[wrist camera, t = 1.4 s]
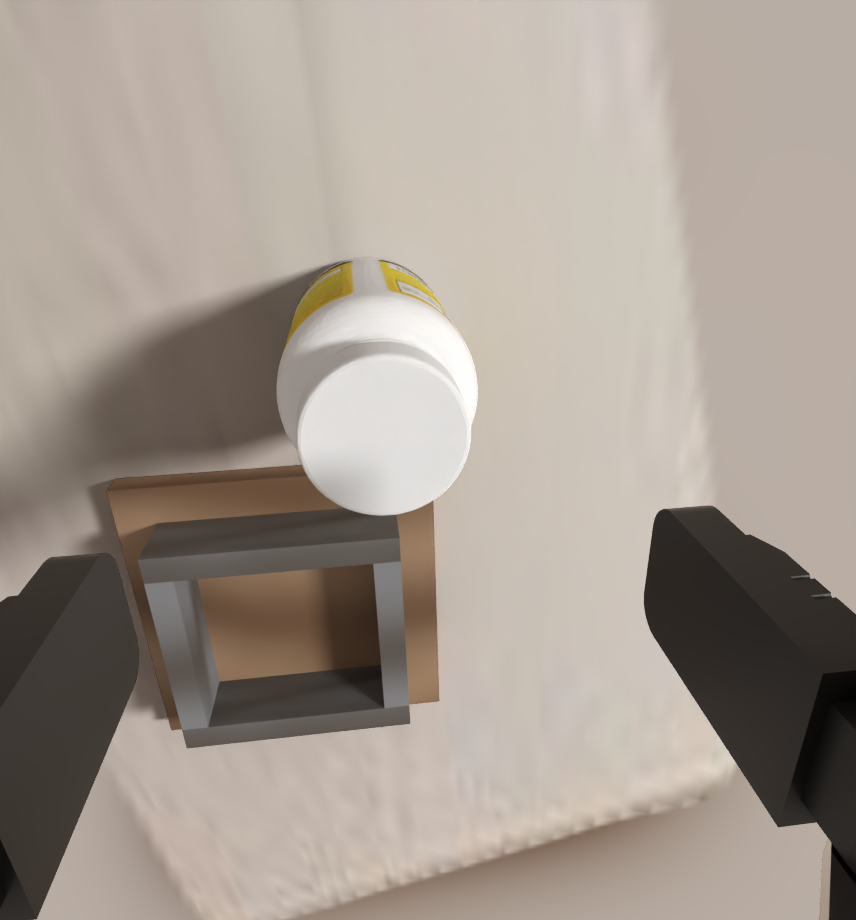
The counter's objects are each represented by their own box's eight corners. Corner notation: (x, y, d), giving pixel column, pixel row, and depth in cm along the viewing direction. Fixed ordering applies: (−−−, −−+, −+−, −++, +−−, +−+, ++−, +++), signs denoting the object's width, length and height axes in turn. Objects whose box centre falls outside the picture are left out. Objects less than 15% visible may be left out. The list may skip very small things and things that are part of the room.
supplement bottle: (298, 405, 24) (269, 547, 15) (288, 254, 22) (247, 317, 13) (442, 403, 25) (494, 537, 16) (446, 256, 22) (510, 316, 14)
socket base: (115, 478, 24) (80, 525, 21) (429, 455, 26) (440, 497, 22) (176, 712, 30) (156, 778, 26) (436, 685, 31) (446, 745, 27)
